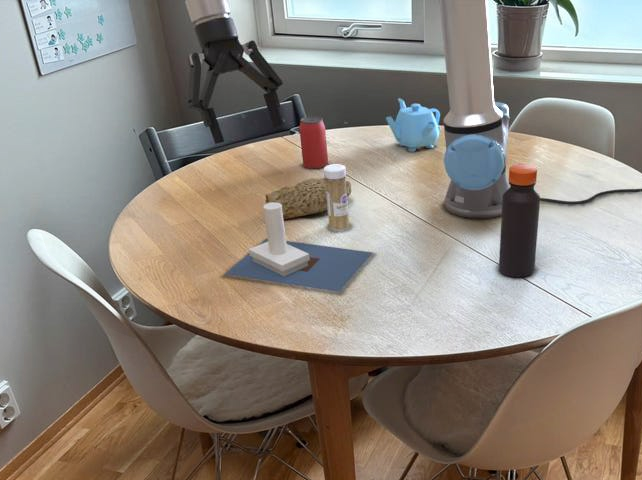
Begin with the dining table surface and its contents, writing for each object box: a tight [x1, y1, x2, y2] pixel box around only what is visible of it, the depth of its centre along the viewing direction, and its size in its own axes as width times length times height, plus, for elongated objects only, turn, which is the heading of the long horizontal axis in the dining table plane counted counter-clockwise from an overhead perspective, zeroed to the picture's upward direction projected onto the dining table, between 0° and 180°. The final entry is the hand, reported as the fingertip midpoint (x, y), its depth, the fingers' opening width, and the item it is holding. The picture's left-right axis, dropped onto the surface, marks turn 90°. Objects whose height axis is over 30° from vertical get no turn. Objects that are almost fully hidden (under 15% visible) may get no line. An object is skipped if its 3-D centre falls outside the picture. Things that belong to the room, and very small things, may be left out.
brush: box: [248, 202, 310, 276], centre depth 139 cm, size 7×11×12 cm, turn 47°
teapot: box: [385, 98, 441, 153], centre depth 199 cm, size 15×14×11 cm
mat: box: [224, 238, 373, 293], centre depth 142 cm, size 24×17×1 cm
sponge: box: [264, 177, 352, 220], centre depth 163 cm, size 13×8×20 cm
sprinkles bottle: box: [323, 163, 350, 231], centre depth 153 cm, size 5×5×14 cm
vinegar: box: [498, 164, 541, 279], centre depth 133 cm, size 7×7×20 cm
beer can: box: [299, 115, 329, 170], centre depth 187 cm, size 7×7×12 cm
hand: (249, 134), depth 144 cm, fingers open, 13 cm apart
